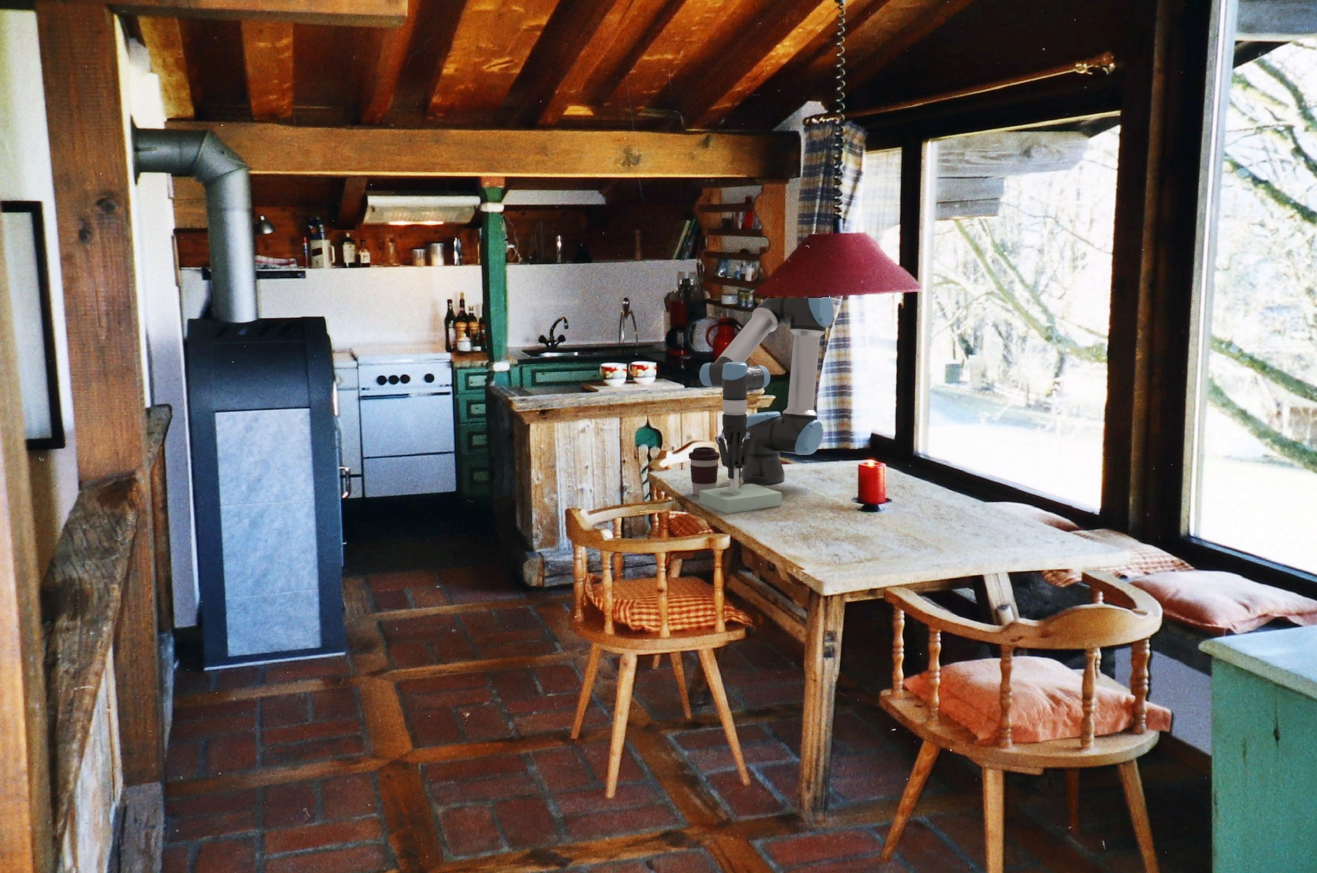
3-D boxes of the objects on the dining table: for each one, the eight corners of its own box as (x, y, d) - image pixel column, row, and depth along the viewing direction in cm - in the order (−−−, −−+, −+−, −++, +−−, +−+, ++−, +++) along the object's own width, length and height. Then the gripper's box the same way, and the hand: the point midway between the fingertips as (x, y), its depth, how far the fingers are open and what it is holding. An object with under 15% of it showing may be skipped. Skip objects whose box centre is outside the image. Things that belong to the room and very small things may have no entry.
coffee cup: (720, 491, 374) (720, 446, 371) (718, 497, 364) (718, 451, 361) (689, 490, 374) (689, 445, 372) (687, 497, 365) (687, 451, 362)
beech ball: (739, 485, 363) (739, 474, 362) (745, 487, 360) (745, 476, 359) (730, 486, 361) (730, 475, 361) (736, 488, 358) (736, 477, 358)
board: (752, 495, 366) (752, 483, 366) (781, 505, 353) (781, 492, 352) (699, 503, 357) (699, 490, 356) (727, 513, 343) (727, 500, 342)
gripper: (745, 409, 355) (745, 484, 359) (710, 413, 349) (709, 488, 353) (759, 412, 349) (758, 488, 353) (723, 416, 342) (723, 493, 346)
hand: (734, 488), depth 353 cm, fingers closed
